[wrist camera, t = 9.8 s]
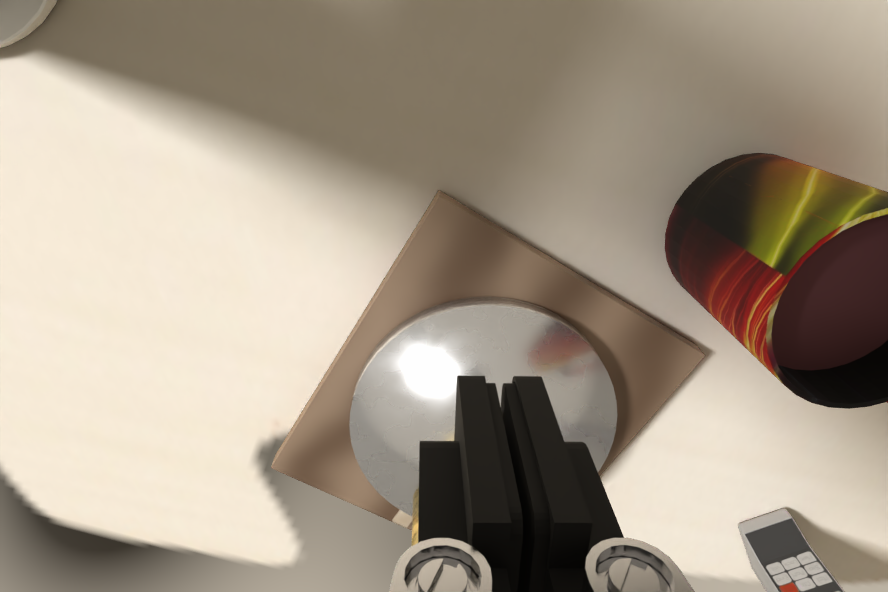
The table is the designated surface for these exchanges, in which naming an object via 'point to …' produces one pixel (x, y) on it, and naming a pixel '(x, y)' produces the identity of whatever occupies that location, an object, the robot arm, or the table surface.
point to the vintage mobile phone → (784, 555)
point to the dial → (470, 354)
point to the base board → (479, 275)
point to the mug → (791, 272)
